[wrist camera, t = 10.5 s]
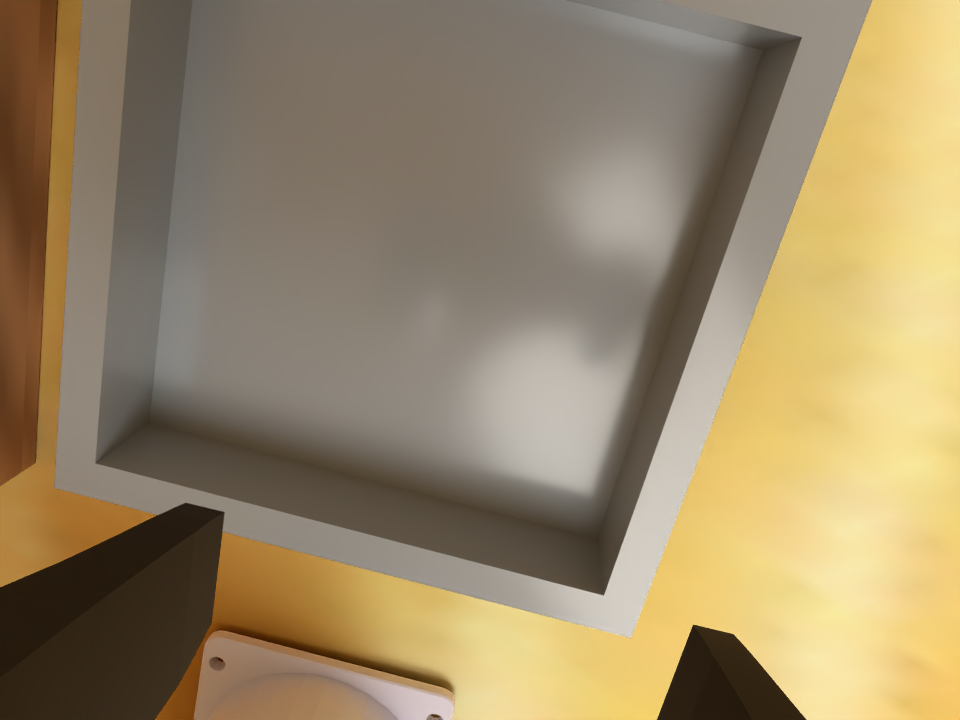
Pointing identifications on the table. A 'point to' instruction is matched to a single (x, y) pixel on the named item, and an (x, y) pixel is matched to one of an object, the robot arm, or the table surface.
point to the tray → (23, 218)
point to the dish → (430, 270)
